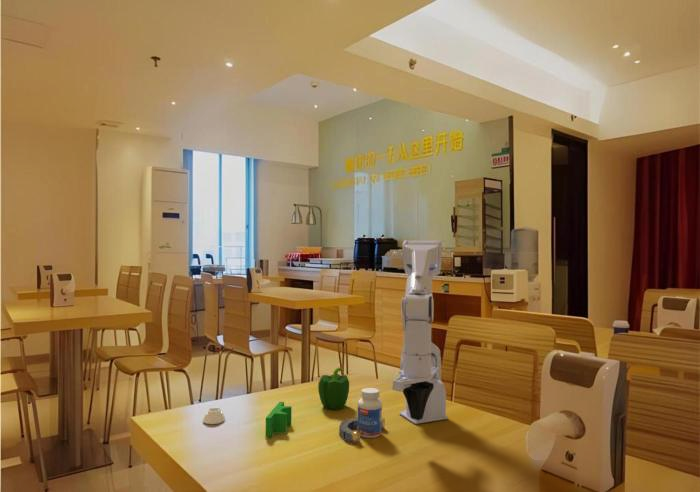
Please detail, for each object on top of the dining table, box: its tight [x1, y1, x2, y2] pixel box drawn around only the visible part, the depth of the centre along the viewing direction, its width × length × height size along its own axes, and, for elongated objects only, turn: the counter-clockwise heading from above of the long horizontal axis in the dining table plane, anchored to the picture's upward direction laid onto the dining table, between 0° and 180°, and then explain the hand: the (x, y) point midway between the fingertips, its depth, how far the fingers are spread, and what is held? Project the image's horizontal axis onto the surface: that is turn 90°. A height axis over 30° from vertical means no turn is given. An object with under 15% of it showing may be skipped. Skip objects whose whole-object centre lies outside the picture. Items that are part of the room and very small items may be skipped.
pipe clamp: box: [265, 401, 292, 439], centre depth 107 cm, size 11×4×5 cm, turn 173°
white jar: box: [202, 406, 226, 425], centre depth 111 cm, size 5×3×5 cm
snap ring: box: [338, 416, 386, 445], centre depth 105 cm, size 8×12×2 cm, turn 143°
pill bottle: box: [356, 387, 383, 439], centre depth 104 cm, size 6×5×10 cm
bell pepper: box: [317, 366, 350, 410], centre depth 122 cm, size 8×8×10 cm
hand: (416, 418), depth 96 cm, fingers closed
